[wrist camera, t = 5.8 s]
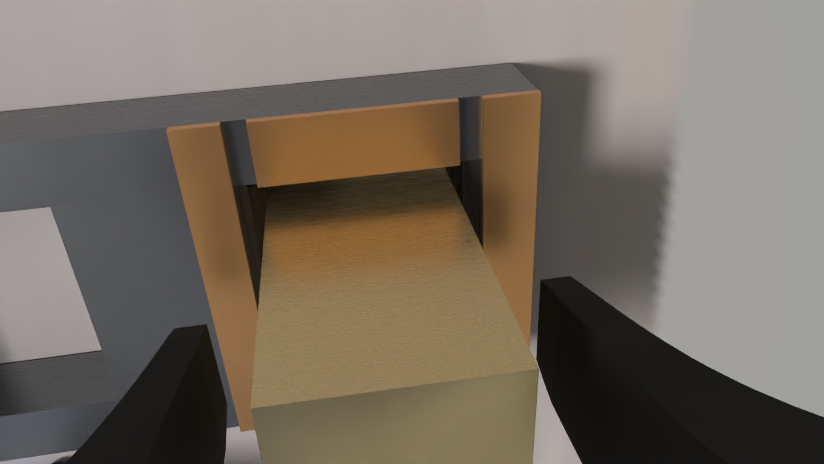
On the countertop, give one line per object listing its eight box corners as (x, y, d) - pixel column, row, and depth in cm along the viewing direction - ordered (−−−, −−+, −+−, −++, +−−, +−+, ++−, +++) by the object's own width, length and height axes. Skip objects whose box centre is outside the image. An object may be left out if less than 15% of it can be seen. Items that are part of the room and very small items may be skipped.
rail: (504, 336, 20) (527, 388, 18) (-100, 421, 18) (-147, 489, 16) (510, 63, 16) (541, 92, 14) (-269, 137, 14) (-358, 183, 12)
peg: (439, 285, 18) (526, 548, 12) (291, 303, 18) (289, 587, 11) (436, 149, 16) (538, 368, 10) (269, 166, 16) (250, 408, 9)
